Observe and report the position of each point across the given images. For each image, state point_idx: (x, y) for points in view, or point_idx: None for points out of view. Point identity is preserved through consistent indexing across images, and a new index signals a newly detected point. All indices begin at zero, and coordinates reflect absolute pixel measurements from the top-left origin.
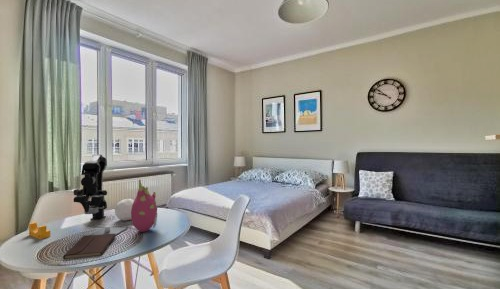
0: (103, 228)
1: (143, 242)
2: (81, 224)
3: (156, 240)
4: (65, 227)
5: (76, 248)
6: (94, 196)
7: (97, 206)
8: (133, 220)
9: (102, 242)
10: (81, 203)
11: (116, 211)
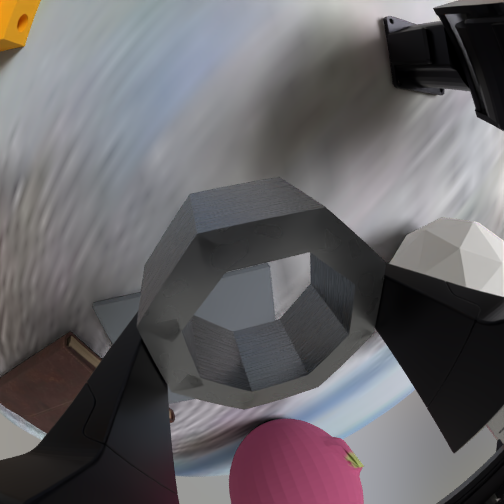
0: (240, 287)
1: (188, 461)
2: (288, 14)
3: (213, 467)
4: None
5: (18, 399)
6: (448, 496)
7: (336, 362)
8: (232, 483)
9: None
10: (34, 466)
11: None
